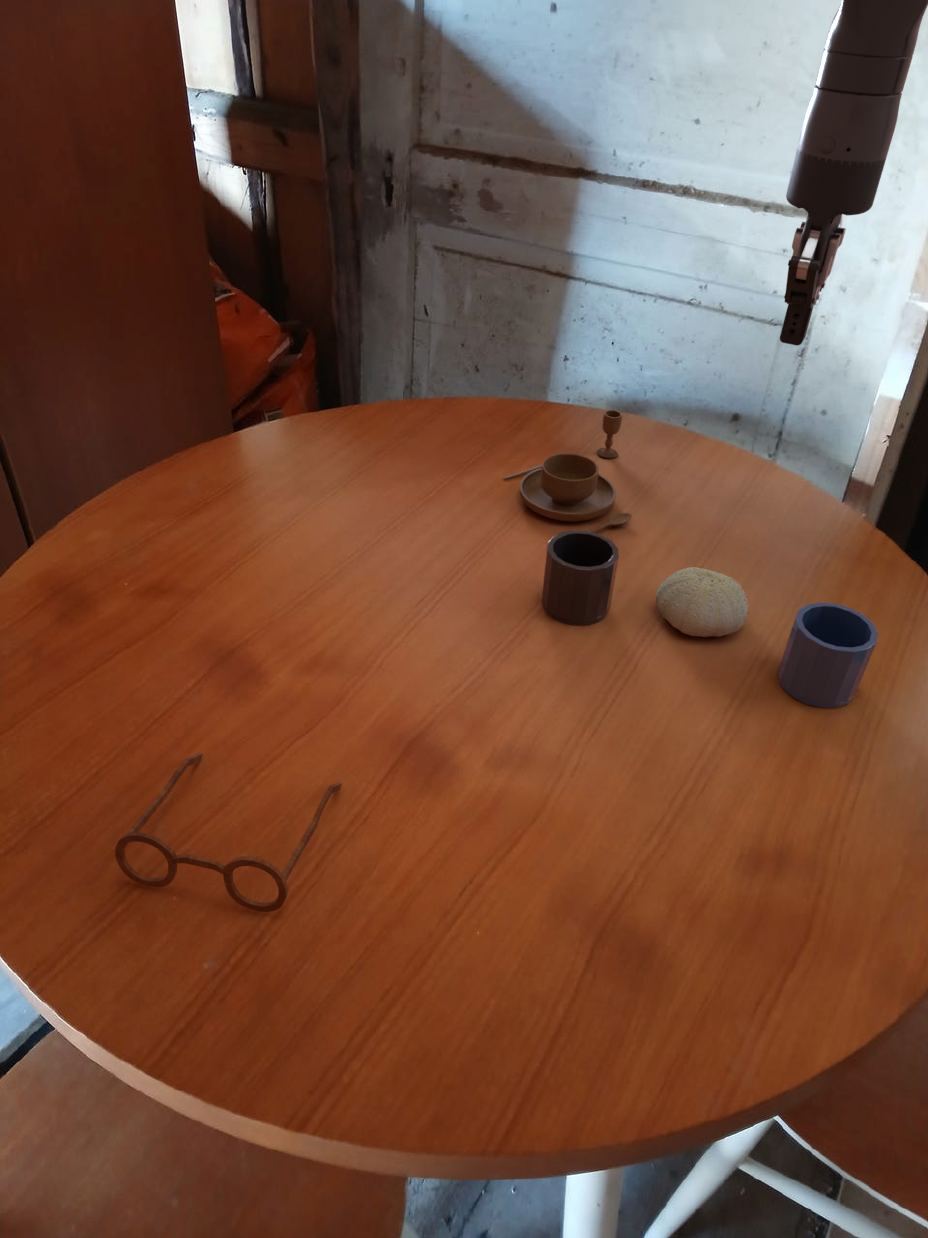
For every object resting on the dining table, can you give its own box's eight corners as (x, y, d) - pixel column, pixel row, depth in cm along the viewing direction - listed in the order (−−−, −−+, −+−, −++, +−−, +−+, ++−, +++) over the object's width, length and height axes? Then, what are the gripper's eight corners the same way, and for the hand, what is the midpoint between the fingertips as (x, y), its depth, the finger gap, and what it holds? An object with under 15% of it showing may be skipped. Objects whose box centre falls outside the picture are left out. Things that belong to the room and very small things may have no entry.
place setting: (486, 481, 116) (488, 439, 112) (605, 445, 125) (611, 405, 121) (571, 547, 104) (577, 502, 101) (696, 502, 113) (705, 460, 110)
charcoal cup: (618, 596, 97) (628, 542, 93) (594, 633, 92) (603, 577, 88) (557, 577, 100) (563, 523, 95) (530, 611, 95) (536, 556, 90)
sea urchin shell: (682, 562, 99) (738, 540, 93) (715, 625, 100) (774, 608, 93) (632, 596, 94) (688, 575, 87) (667, 662, 94) (726, 646, 88)
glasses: (119, 882, 67) (105, 840, 64) (198, 756, 77) (189, 714, 74) (286, 921, 65) (280, 878, 62) (345, 786, 75) (342, 744, 72)
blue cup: (859, 673, 89) (882, 617, 84) (848, 718, 84) (871, 660, 79) (785, 649, 91) (804, 594, 87) (770, 692, 86) (788, 635, 82)
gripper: (877, 167, 73) (817, 372, 84) (896, 141, 82) (841, 328, 93) (783, 155, 75) (737, 355, 86) (812, 131, 85) (768, 314, 96)
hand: (791, 341), depth 90 cm, fingers closed
